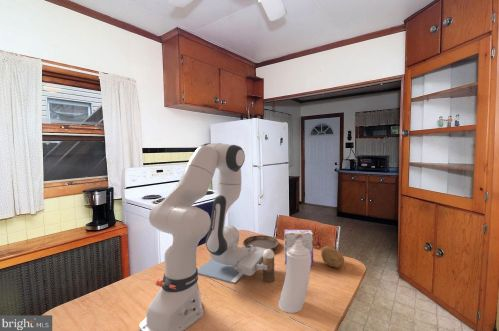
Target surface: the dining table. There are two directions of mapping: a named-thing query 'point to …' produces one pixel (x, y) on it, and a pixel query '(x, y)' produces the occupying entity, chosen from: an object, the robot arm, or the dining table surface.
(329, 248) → the potato
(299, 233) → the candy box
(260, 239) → the plant saucer
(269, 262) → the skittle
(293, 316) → the dining table surface
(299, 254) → the spray can
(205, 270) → the mat
